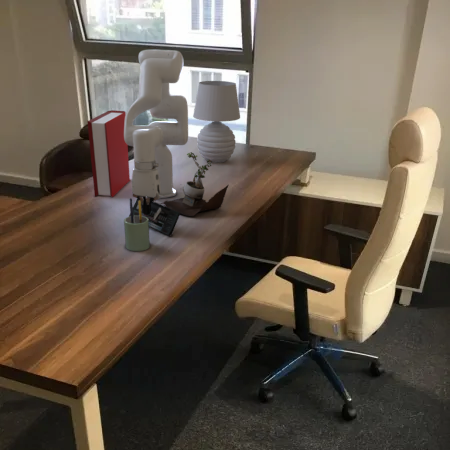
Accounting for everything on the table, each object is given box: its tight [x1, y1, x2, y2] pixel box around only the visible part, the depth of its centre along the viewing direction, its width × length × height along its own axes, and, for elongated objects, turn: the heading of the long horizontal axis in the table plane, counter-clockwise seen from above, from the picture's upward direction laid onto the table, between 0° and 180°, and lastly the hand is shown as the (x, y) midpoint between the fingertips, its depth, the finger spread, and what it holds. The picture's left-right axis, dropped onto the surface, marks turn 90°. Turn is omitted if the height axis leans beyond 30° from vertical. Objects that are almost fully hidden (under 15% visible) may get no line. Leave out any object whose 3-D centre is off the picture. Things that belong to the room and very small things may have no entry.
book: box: [87, 109, 131, 198], centre depth 233 cm, size 27×8×32 cm, turn 172°
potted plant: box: [160, 151, 230, 217], centre depth 214 cm, size 20×19×25 cm
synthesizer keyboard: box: [128, 197, 181, 237], centre depth 197 cm, size 22×10×10 cm
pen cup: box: [123, 197, 151, 252], centre depth 179 cm, size 8×8×18 cm
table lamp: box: [192, 80, 241, 163], centre depth 279 cm, size 25×25×40 cm
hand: (146, 213), depth 196 cm, fingers closed
